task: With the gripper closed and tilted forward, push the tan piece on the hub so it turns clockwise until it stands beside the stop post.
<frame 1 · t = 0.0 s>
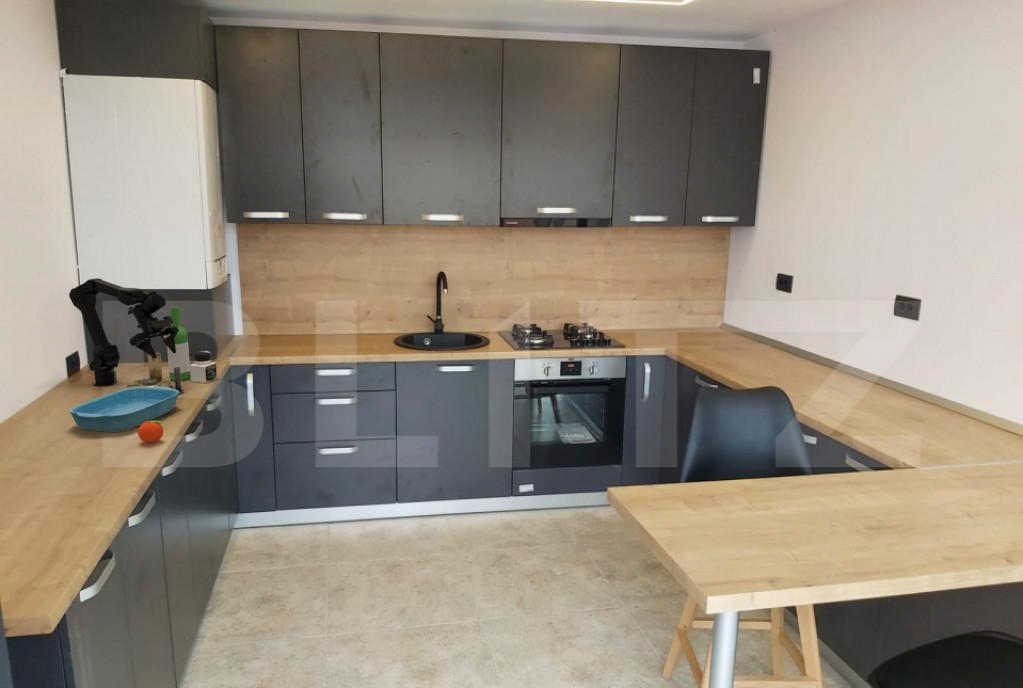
hand: (165, 355, 258), 15 cm above the worktop, tool tilted 35°, fingers open, 9 cm apart
casserole dish: (129, 419, 232), on the worktop
tomato: (153, 442, 212), on the worktop
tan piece: (149, 372, 256), point 9 cm above the worktop, hinge at 0.0°
medicine bottle: (204, 380, 280), on the worktop
wine bottle: (180, 379, 281), on the worktop
hub: (150, 395, 258), on the worktop
stop post: (178, 393, 262), on the worktop
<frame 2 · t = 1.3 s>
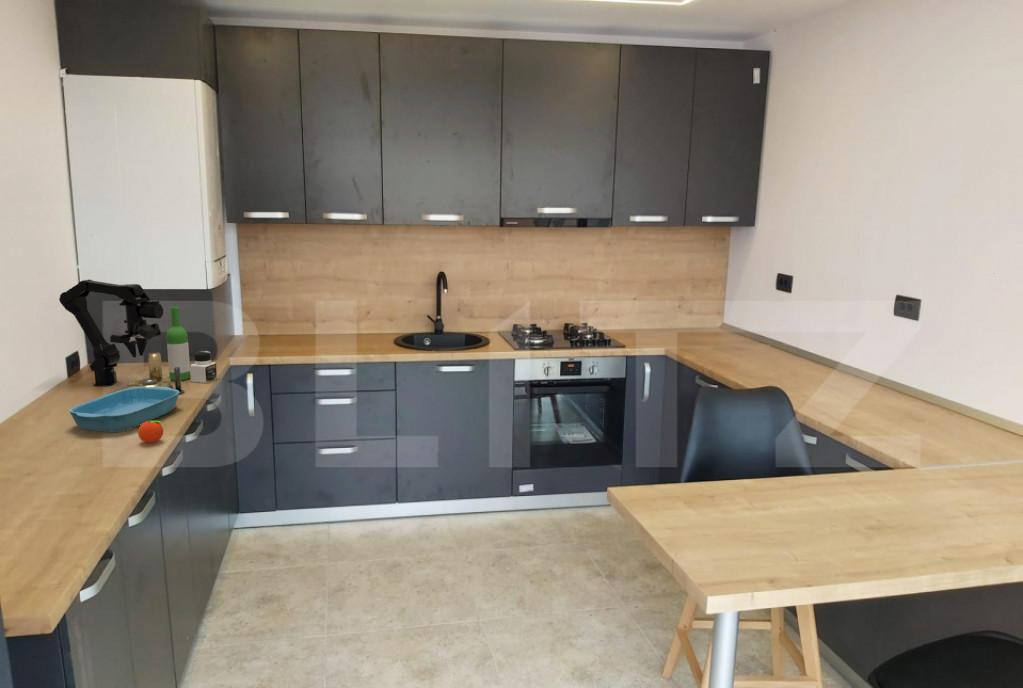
hand: (137, 356, 267), 12 cm above the worktop, tool pointing down, fingers open, 3 cm apart
nothing on the worktop moved.
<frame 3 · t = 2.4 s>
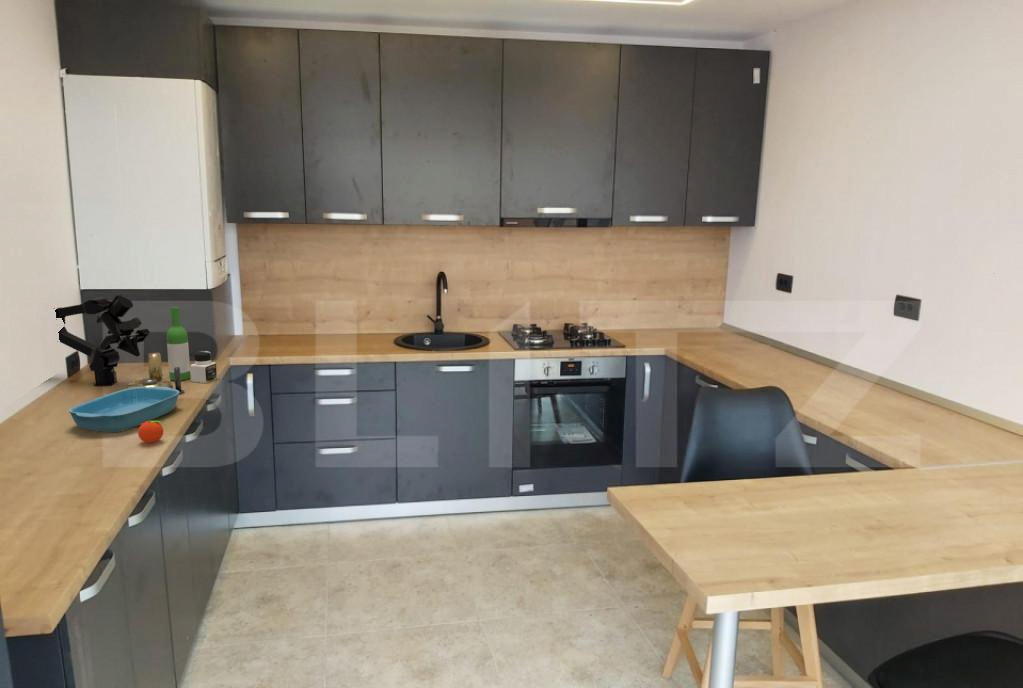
hand: (138, 355, 263), 13 cm above the worktop, tool tilted 45°, fingers closed
nothing on the worktop moved.
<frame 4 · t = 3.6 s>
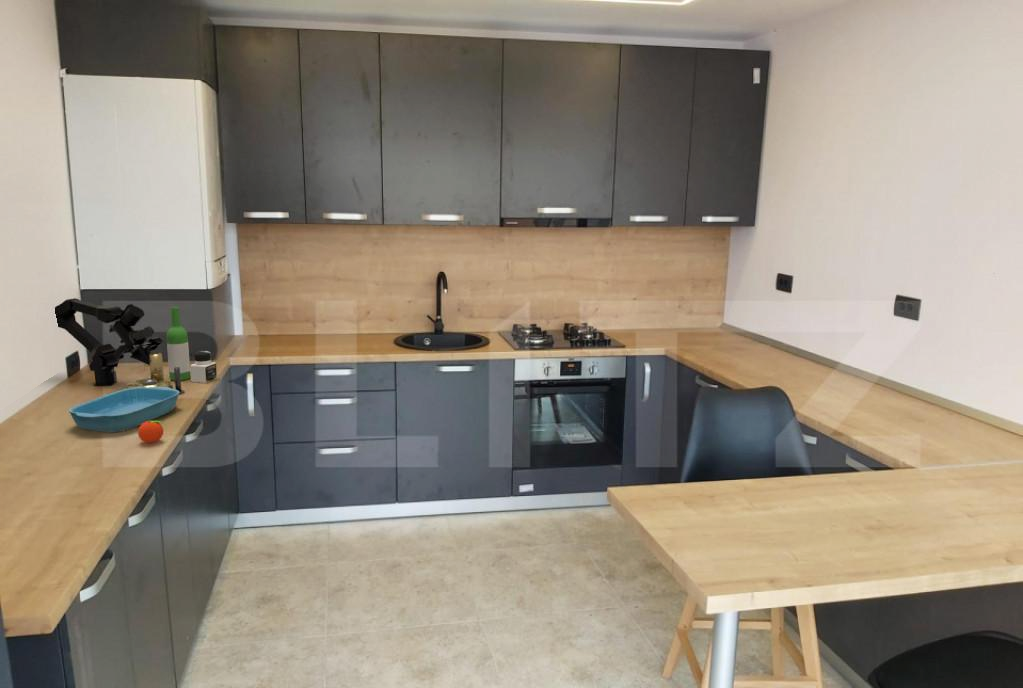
hand: (152, 364, 262), 10 cm above the worktop, tool tilted 45°, fingers closed, pressing on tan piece
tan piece: (149, 372, 256), point 9 cm above the worktop, hinge at 4.5°, touching gripper
everything else where it was.
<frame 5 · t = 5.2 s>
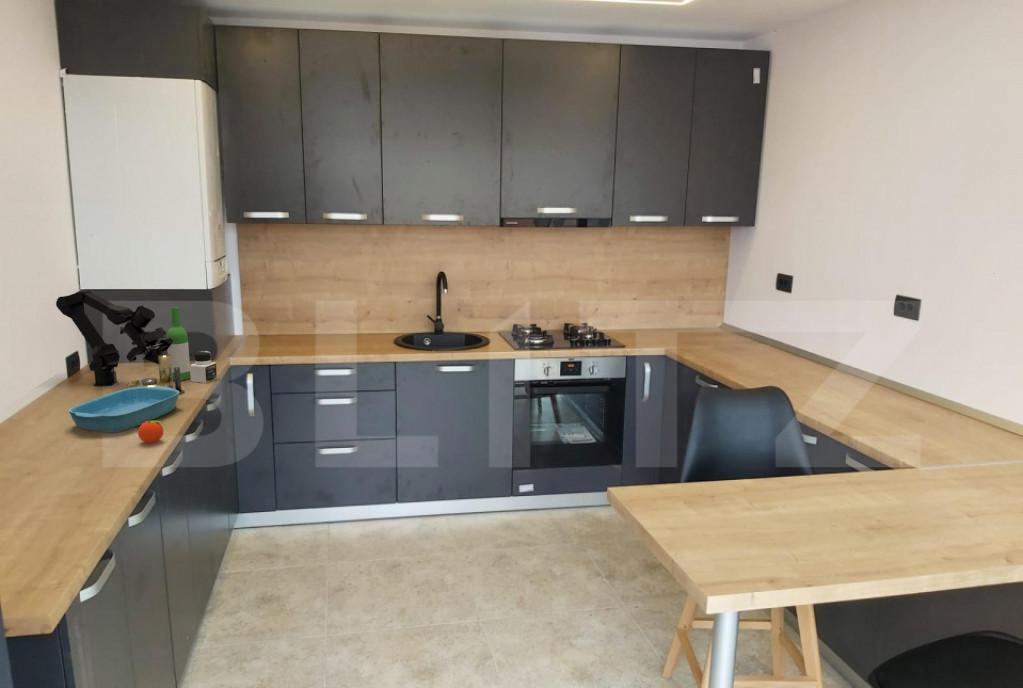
hand: (164, 365, 262), 10 cm above the worktop, tool tilted 45°, fingers closed, pressing on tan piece
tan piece: (149, 372, 256), point 9 cm above the worktop, hinge at 49.7°, touching gripper
everything else where it was.
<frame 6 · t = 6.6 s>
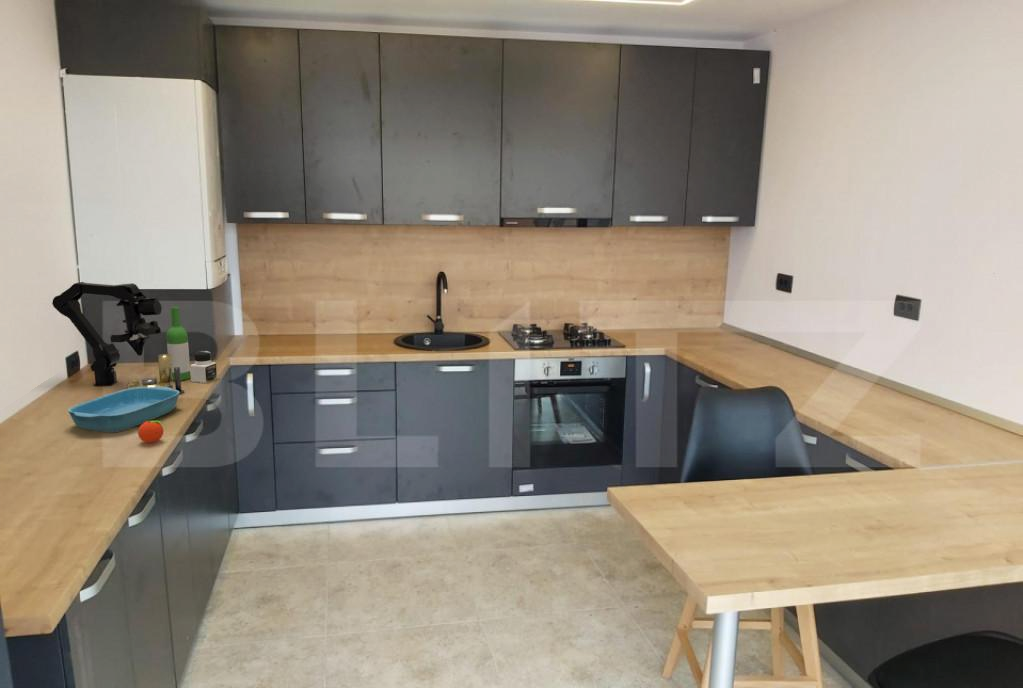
hand: (140, 355, 268), 12 cm above the worktop, tool pointing down, fingers closed
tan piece: (149, 372, 256), point 9 cm above the worktop, hinge at 49.7°
everything else where it was.
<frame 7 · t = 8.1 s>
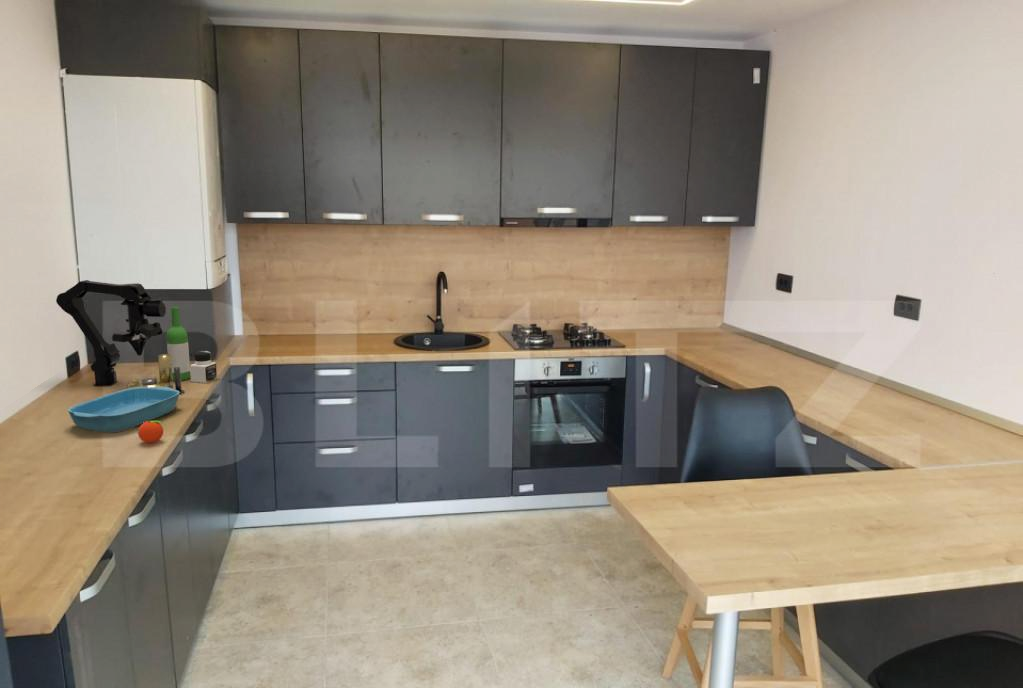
hand: (139, 355, 269), 12 cm above the worktop, tool pointing down, fingers closed
nothing on the worktop moved.
at the end: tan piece at +50° (first picture: +0°) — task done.
